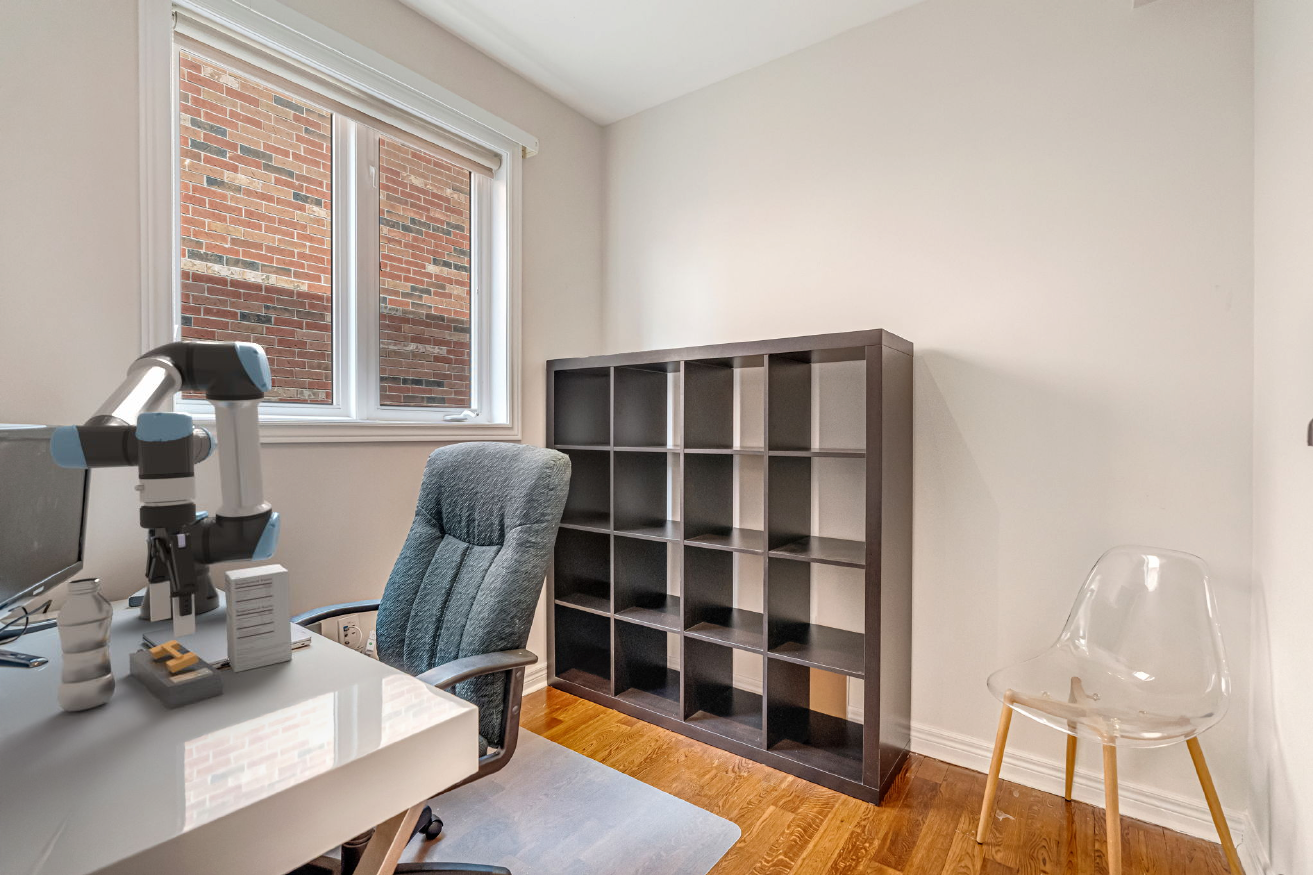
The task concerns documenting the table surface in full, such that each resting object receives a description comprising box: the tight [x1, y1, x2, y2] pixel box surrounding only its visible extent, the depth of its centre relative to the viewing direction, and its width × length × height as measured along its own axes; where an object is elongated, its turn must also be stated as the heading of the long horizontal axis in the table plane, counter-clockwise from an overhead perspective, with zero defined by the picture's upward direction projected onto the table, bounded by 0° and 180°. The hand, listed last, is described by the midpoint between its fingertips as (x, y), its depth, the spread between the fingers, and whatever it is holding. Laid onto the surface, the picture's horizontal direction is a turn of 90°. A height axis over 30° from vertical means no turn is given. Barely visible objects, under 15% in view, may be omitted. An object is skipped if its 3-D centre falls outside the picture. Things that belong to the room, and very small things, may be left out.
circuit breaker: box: [128, 643, 224, 711], centre depth 109 cm, size 34×7×4 cm, turn 52°
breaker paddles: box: [149, 639, 199, 673], centre depth 106 cm, size 13×4×2 cm, turn 52°
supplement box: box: [224, 563, 293, 673], centre depth 116 cm, size 10×9×17 cm
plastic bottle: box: [55, 577, 116, 712], centre depth 97 cm, size 6×7×20 cm
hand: (172, 626), depth 105 cm, fingers open, 13 cm apart
